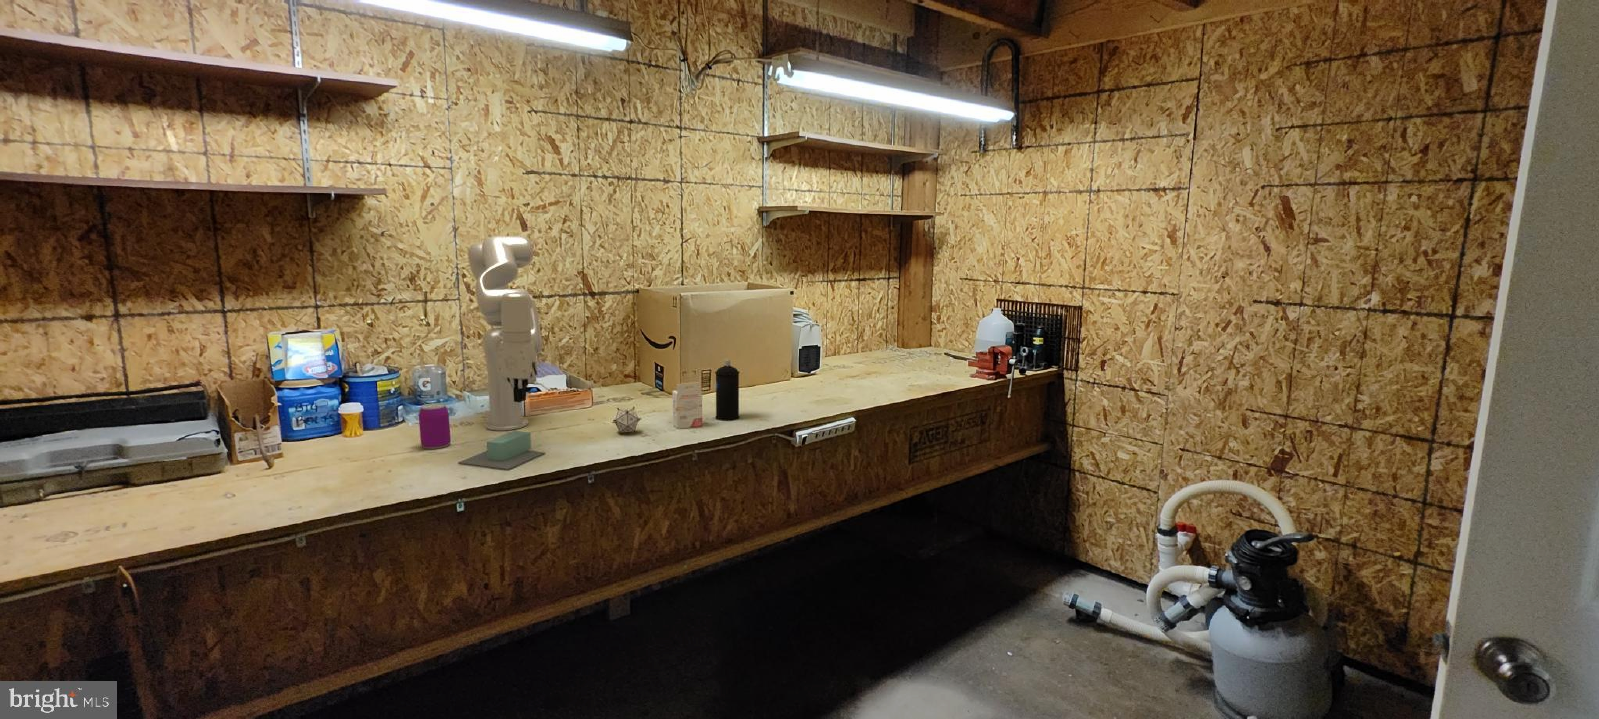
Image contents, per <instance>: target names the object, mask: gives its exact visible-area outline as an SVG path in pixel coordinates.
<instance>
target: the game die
mask: <svg viewBox="0 0 1599 719" xmlns="http://www.w3.org/2000/svg"><path fill="white" fill-rule="evenodd" d="M615 416H616V417H615V419H613V420H612V424H615V426H616V427H617V429H618V431H619V432H618V435H621V433H631V432H633V433H634V434H637V431H636V429H637V425H638V423H639V422H640V420H642V417H639V416H638V414H637V413H636V411H635V406H633V407H632V408H625V409H623V408H622V409H620V408H619V407H617V413H616V415H615Z"/></svg>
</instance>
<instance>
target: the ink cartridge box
mask: <svg viewBox="0 0 1599 719" xmlns="http://www.w3.org/2000/svg"><path fill="white" fill-rule="evenodd" d="M686 387H690V388H686ZM691 387H692V388H691ZM672 417H673V419H672V420H673V427H675V428H676V429H678V430H680V429H681V430H682V429H689V428H696V427H703V423H704V422H703V392H702V383H701V381H697V382H685V383H684V382H683V383H678V384H676V390H672Z"/></svg>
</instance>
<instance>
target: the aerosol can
mask: <svg viewBox="0 0 1599 719" xmlns="http://www.w3.org/2000/svg"><path fill="white" fill-rule="evenodd" d="M714 374H715V419H716V420H718V421H724V422H726V421H727V422H729V421H731V422H732V421H736V420H739V419H740V415H739V414H740V413H739V412H740V401H739V399H740V398H739V395H740V371H739V370H738V369H737V368H736V367H734V366H731V359H724V364H723V366H721V367H719V368H718V369H717V370H716V371H715V373H714Z"/></svg>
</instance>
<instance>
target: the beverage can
mask: <svg viewBox="0 0 1599 719" xmlns="http://www.w3.org/2000/svg"><path fill="white" fill-rule="evenodd" d="M449 413H450V412H449V409H448V408H447V406H446V404H445V403H442V402H441V403H439V402H434V403H432V402H431V403H427V404H423V405H421V406H420V409H419V413H418V424H419V426H418V427H419V436H420V437H419V438H420V445H421V447H423V448H424V449H426V450H437V449H443V448H446V447H448V446H449V445H450V443H451V429H450V428H451V427H450V414H449Z"/></svg>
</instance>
